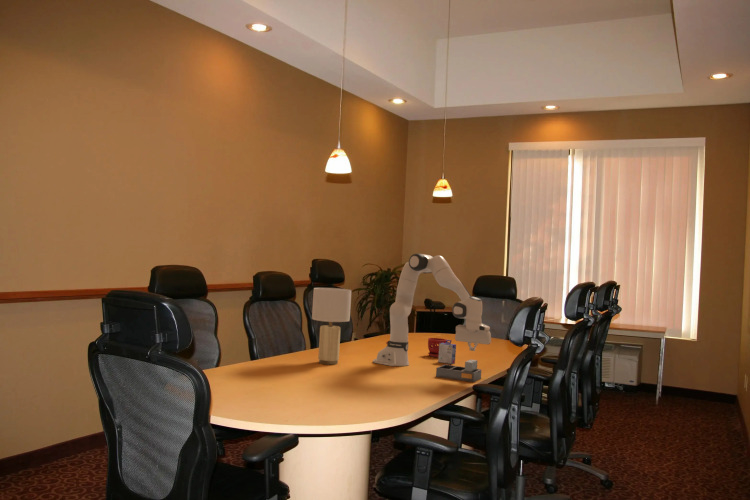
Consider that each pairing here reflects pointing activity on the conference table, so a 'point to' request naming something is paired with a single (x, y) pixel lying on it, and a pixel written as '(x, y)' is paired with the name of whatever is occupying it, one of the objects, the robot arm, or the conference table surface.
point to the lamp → (330, 320)
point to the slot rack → (457, 373)
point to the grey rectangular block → (471, 366)
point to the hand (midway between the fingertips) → (472, 350)
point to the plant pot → (432, 348)
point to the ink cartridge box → (447, 352)
